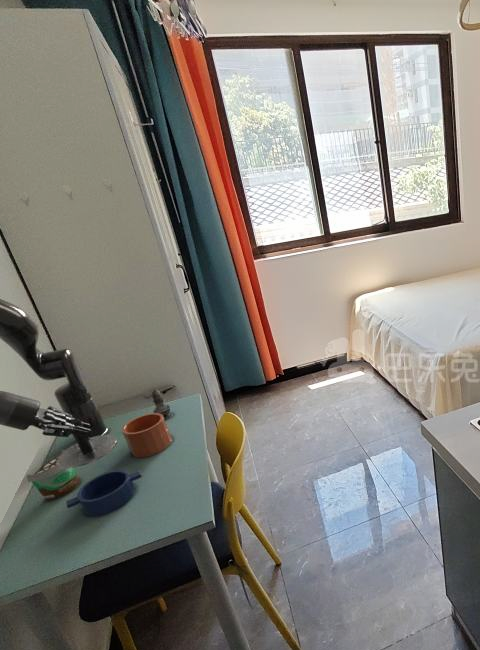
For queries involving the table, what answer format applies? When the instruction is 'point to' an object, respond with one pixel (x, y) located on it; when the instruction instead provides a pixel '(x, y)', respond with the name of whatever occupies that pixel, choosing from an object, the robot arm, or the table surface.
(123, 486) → the pan
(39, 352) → the robot arm
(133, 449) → the pot
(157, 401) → the grey upright piece
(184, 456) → the table surface
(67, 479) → the food container
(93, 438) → the lid
